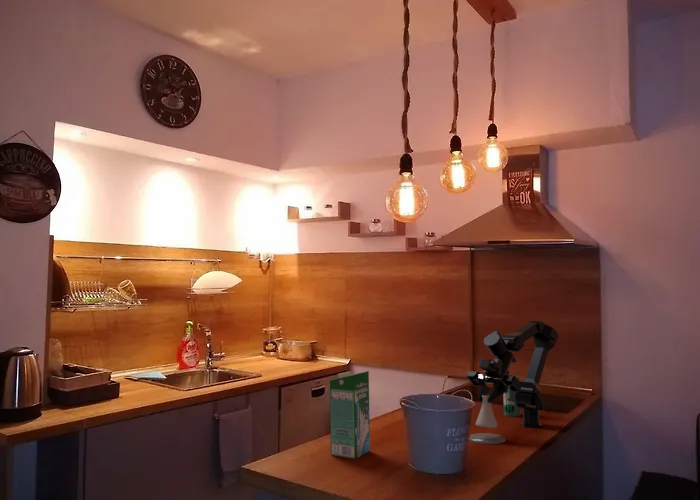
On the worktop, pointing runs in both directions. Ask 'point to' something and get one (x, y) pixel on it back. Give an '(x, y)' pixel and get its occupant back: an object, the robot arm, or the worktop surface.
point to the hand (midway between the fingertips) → (483, 401)
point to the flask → (486, 414)
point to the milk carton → (350, 415)
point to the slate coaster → (487, 438)
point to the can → (511, 403)
